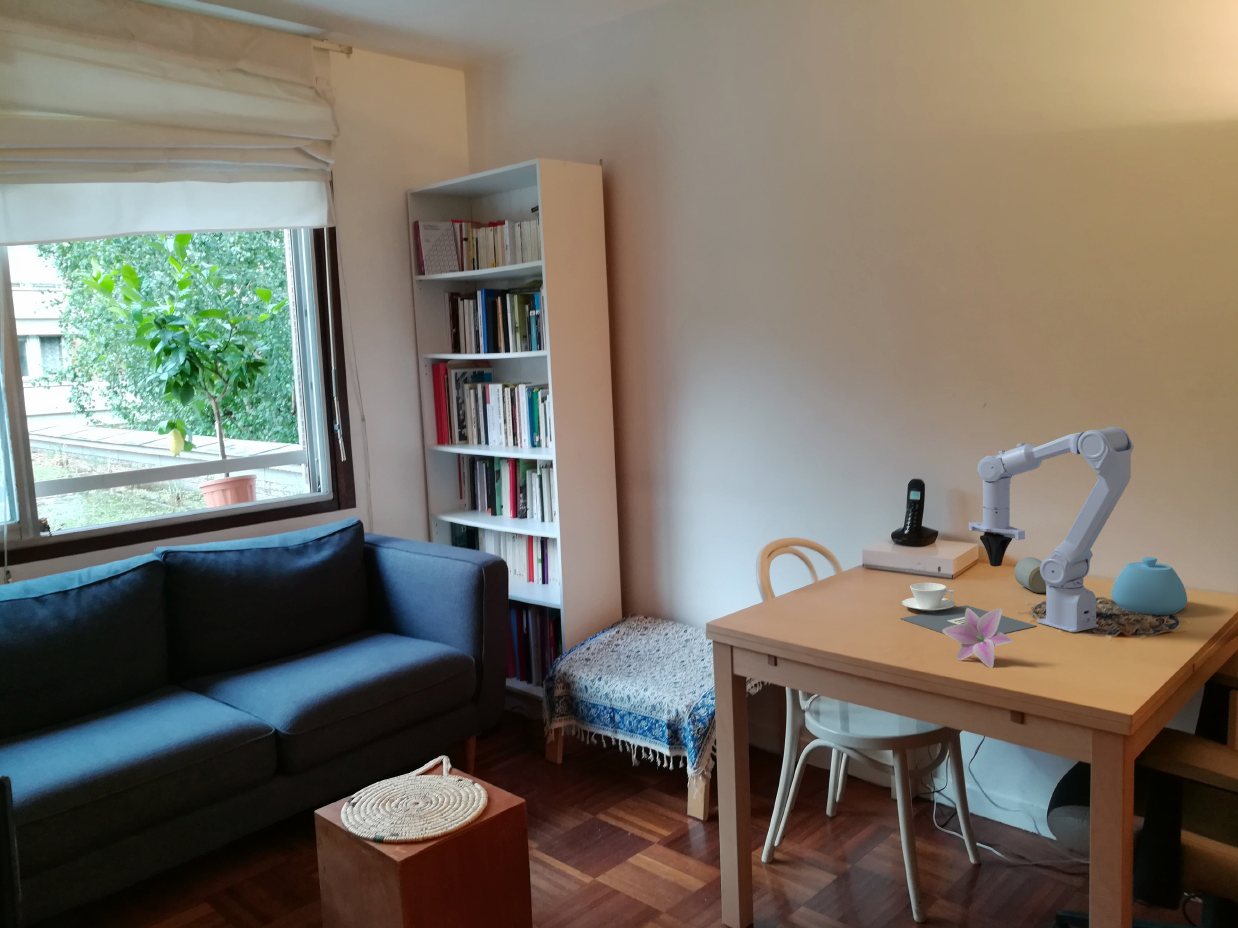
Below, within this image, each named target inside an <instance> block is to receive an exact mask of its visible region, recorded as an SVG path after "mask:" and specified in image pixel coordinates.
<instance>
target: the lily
mask: <svg viewBox="0 0 1238 928" xmlns="http://www.w3.org/2000/svg"><path fill="white" fill-rule="evenodd" d="M1001 615H1003V609H1002V608H1001V607H998V608H994V609H992V610H989V611H988V613H986V614H985V615H983V616H982V617H981V618H979V617H978V616H977V615H976V614H975V613H974V612H973V611H972V610H971V609H969V608H967V609H966V612H965V624H958V625H953V626H950V627H947V628H944V629H943V630H942V631H943V633H944V634H943V633H942V634H943V635H946V636H947V637H949V638H951V640H952V639H953V640H954V641H956V642H958V643H960V644H961V645H960V647H959V649H958V653H957V657H956V659H957V661H958V660H960V661H962V660H965V659H967V658H968V657H970V656H972V655H975V656H976V657H977V658H978V660H980V661H981V662H982V663H983V664H984V665H985V666H987V667H988V668H993V667H994V663H995V647H997V646H1001V645H1005V644H1006V645H1007V644H1009V643H1013V642H1014V641H1013V639H1012V638H1011V637H1009V636H1008V635H1007V634H1006V633H1005V634H1003V633H1001V632H999V631H997V628H998V625H999V621H1000V618H1001Z"/></svg>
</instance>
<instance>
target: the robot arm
mask: <svg viewBox="0 0 1238 928" xmlns="http://www.w3.org/2000/svg"><path fill="white" fill-rule="evenodd" d="M1134 447H1135V445H1134V444H1133V442H1132V440H1131V438H1130V436H1129V434H1128V433H1127V431H1126V430H1125V429H1123V428H1121V427H1118V426H1110V427H1106V428H1101V429H1090V430H1086V431H1081V432H1075V433H1070V434H1067V435H1064V436H1062V437H1059V438H1057V439H1054V440H1052V441H1050V442H1049V441H1048V442H1047V443H1044V444H1041V445H1038V446H1036V445H1035V444H1032V443H1025V442H1021V443H1018V444H1016V447H1015V448H1012V449H1009V450H1004V449H1003V450H999V451H998V454H997V455H996V454H995V455H986V456H985V457H983V458H981V459H980V460H979V461H978V464H977V467H976V468H977V473H978V476H979V477H980V478H981V479H982V521H981V522H980V521H968V531H970V532H973V531H974V532H980V533H983V534H982V535H980V536H979V540H980V541H981V543H982V544H983V546H984V548H985V550H986V551H985V552H986V553H987V557H988V560H989V564H990V567H995V568H996V567H1001V566H1002V563H1003V561H1004V560H1003V559H1004V557H1005V554H1006V551H1007V549H1008V547H1009V545H1010V544H1011V542H1012V540H1013V539H1015V540H1016V541H1021V540H1025V539H1026V536H1025V535H1026V530H1023V529H1020V528H1016V527H1014V526H1011V525H1010V514H1011V513H1010V507H1011V506H1010V504H1011V503H1010V498H1011V497H1010V495H1011V493H1010V492H1011V491H1010V487H1011V479H1012V477H1014V476H1017V475H1020V474H1023V473H1027V472H1029V471H1030V472H1031V471H1033V470H1036V469H1038V468H1039V467H1040V466H1041V464H1042V461H1044V460H1047V459H1051V458H1055V457H1058V456H1061V455H1065V454H1068V453H1072V454H1074V455H1076V456H1077V455H1081V456H1082V458H1083V459H1084V460H1085V461H1086V462H1087V463H1088V465H1089V466H1090V467H1091V469H1093V471H1094V472H1095V474H1096V476H1097V481H1096V483H1095V484H1094V486H1093V488H1092V489H1091V491H1090V493H1089V495H1088V497H1087V498H1086V500H1085V501H1084V504H1083V506H1082V508H1081V510H1080V511H1079V513H1078V515H1077V516H1076V518H1075V520H1074V522H1073V524H1072V525H1071V527H1070V529H1069V531H1068V533H1067V534H1066V537H1065V538H1064V540H1063V541H1061V543H1060V544H1058V545H1057V546H1056V547H1055V548H1054V549H1053V551H1052V553H1051V554H1050V555H1049V556H1047V557H1046V558H1044V559H1043V560H1042V561H1041V562H1042V563H1041V565H1040V573H1041V576H1042V578H1043V579H1044V580H1045V581H1046V593H1045V595H1046V597H1045V601H1046V602H1045V618H1040V619H1036V622H1037V623H1038V624H1042V625H1046V626H1050V627H1053V628H1057V629H1060V630H1062V631H1065V632H1070V633H1078V632H1081V631H1086V630H1090V629H1095V628H1098V627H1099V624H1097V598H1096V595H1095V593H1094V592H1093V591H1092V590H1091V589H1088V588H1086V587H1085V586H1084V578H1085V577H1086V576H1087V575H1088V574H1089V572H1090V566H1091V559H1092V557H1093V556H1094V555H1093V552H1092V550H1091V549H1092V547H1093V545H1094V544H1095V542H1096V541H1097V538H1099V535H1100V533H1101V532H1102V530H1103V528H1104V527H1105V525H1106V523H1107V522H1108V519H1109V518H1110V516H1111V514H1112V513H1113V511H1114V509H1115V507H1116V506H1117V504H1118V502H1119V501H1120V499H1121V497H1122V496H1123V493H1124V492H1125V490H1126V488H1127V486H1128V485H1129V484H1130V483H1129V482H1130V481H1131V474H1132V472H1131V469H1132V467H1131V465H1132V463H1131V460H1132V459H1131V458H1132V456H1131V455H1132V452H1133V449H1134Z"/></svg>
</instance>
